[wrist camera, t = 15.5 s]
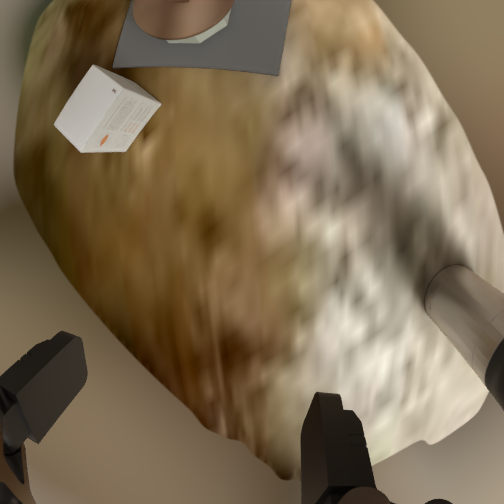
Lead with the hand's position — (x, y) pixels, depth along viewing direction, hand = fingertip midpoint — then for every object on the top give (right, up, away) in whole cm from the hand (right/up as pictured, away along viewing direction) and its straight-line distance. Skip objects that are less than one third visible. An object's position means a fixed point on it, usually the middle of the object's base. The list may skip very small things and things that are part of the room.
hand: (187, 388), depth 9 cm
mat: (-5, +34, +21) cm, 40 cm away
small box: (-14, +22, +26) cm, 36 cm away
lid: (-6, +33, +16) cm, 37 cm away
